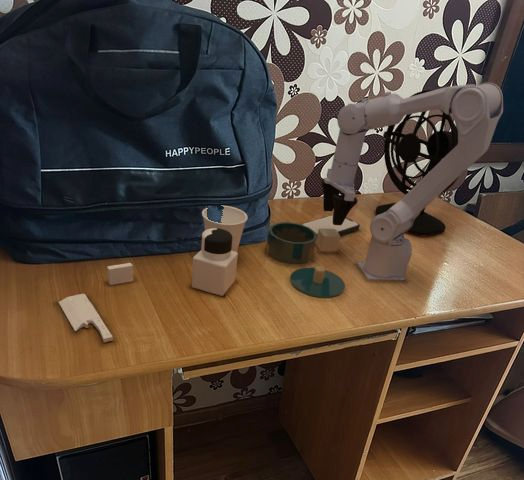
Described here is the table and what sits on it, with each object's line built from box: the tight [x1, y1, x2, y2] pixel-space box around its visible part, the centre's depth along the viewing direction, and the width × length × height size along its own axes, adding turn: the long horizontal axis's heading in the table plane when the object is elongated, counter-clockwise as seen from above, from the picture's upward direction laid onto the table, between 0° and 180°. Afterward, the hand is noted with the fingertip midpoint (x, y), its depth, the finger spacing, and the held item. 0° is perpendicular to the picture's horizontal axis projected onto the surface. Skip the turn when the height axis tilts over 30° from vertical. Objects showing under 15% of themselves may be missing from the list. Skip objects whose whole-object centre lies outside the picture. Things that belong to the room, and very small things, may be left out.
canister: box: [265, 221, 317, 265], centre depth 120 cm, size 11×11×6 cm
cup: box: [201, 205, 248, 253], centre depth 112 cm, size 10×10×11 cm
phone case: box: [300, 214, 360, 240], centre depth 136 cm, size 9×2×16 cm
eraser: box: [106, 262, 134, 286], centre depth 102 cm, size 1×5×4 cm, turn 121°
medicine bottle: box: [191, 228, 239, 297], centre depth 103 cm, size 7×7×12 cm
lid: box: [289, 265, 346, 299], centre depth 111 cm, size 12×12×4 cm
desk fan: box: [375, 89, 460, 237], centre depth 137 cm, size 27×18×35 cm, turn 34°
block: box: [315, 228, 342, 253], centre depth 126 cm, size 4×4×5 cm
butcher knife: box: [58, 293, 114, 343], centre depth 91 cm, size 5×15×1 cm, turn 33°
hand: (332, 217), depth 122 cm, fingers open, 7 cm apart
